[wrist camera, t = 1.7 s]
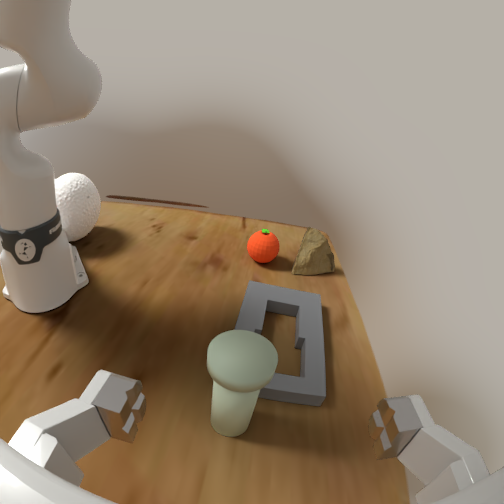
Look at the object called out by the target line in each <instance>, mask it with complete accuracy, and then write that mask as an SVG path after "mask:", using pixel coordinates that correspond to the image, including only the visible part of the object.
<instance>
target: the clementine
mask: <svg viewBox="0 0 504 504" xmlns="http://www.w3.org/2000/svg"><path fill="white" fill-rule="evenodd" d="M247 249H248V253H249V255H250V256H251V258H252V259H254V260H255V261H257V262H260V263H267V262H270V261H272V260H273V259H274V258H275V257H276V256H277V254H278V252H279V241H278V239H277V237H276V236H275V235H274V234H273V233H271V232H269V230H267V229H262V231H258V232H256V233H254V234H253V235H252V236H251V237H250V239H249V241H248V244H247Z"/></svg>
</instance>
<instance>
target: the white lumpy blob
mask: <svg viewBox="0 0 504 504" xmlns="http://www.w3.org/2000/svg"><path fill="white" fill-rule="evenodd" d="M54 180H55V194H56V204H57V208H58V209H59V212H60V216H61V224H62V229H63V230H64V231H65V233H66V236H67V239H68V242H70V241H76V240H79V239H81V238H82V237H84V236H86V235H87V234H88V233H90V232H91V230H92V229H93V228H94V226H95V224H96V222H97V220H98V217H99V213H100V206H101V205H100V204H101V203H100V202H101V200H100V196H99V192H98V191H97V188H96V187H95V185H94V183H93V182H92V181H91V180H90V179H89V178H87V177H86V176H85V175H82V174H79V173H68V174H65V175H62V176H61V177H59V178H58V179H54Z"/></svg>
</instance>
